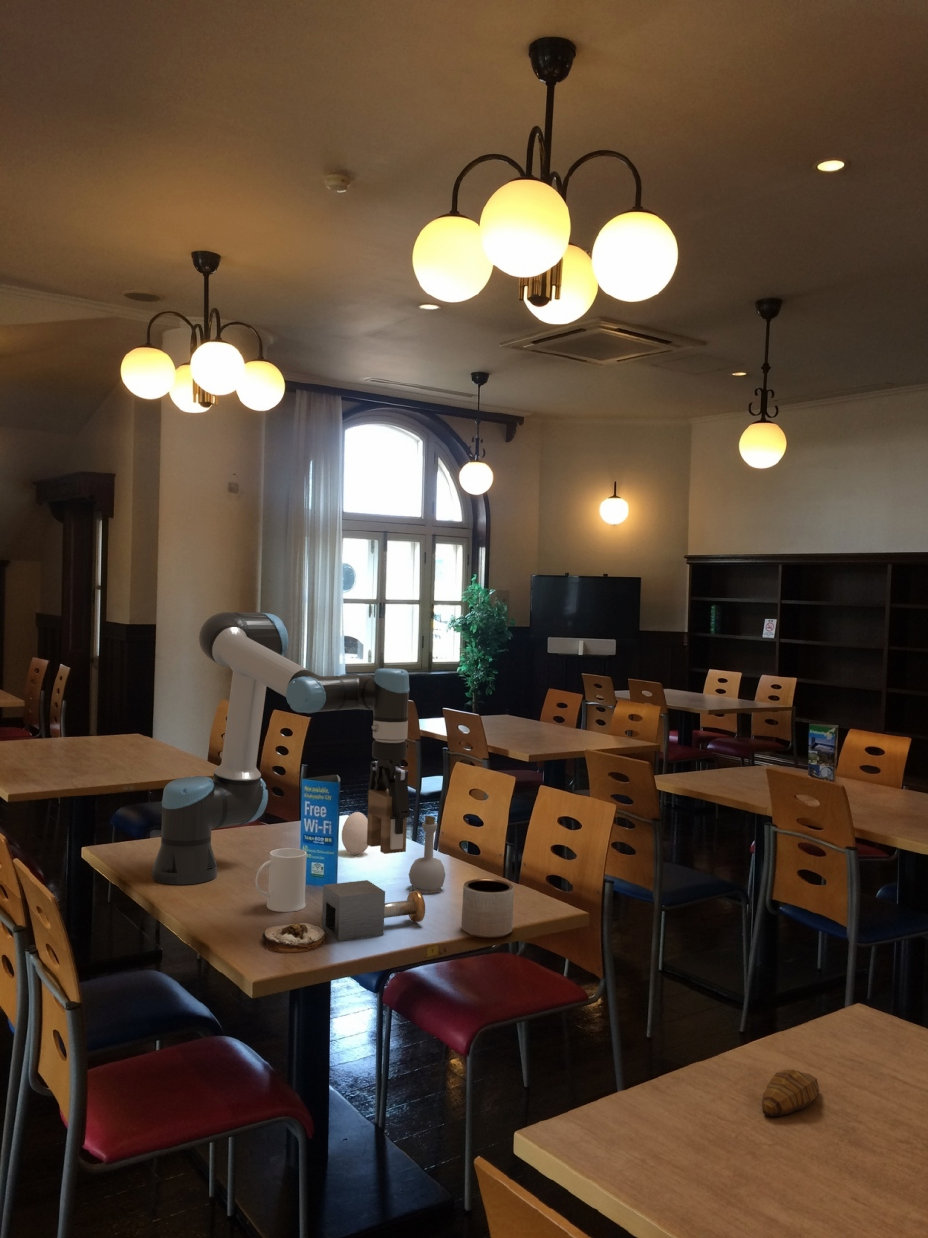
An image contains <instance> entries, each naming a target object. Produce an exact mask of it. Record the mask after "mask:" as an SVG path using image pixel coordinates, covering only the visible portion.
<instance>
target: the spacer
mask: <svg viewBox="0 0 928 1238" xmlns="http://www.w3.org/2000/svg"><path fill="white" fill-rule="evenodd" d="M391 816H393V813H392V797H391V796H389V790H388V789H387V790H380V791H376V790H369V795H368V804H367V819H368V825H367V845H369V846H368V847H380V853H382V854H384V855H386V854H387V855H388V854H397V853H406V852H407V831H408V830H407V829H408V828H407V824H408V817H406V818H404V827H403V848H402V849H392V850H391V849H390V829H391V819H390V817H391Z"/></svg>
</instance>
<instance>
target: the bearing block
mask: <svg viewBox="0 0 928 1238" xmlns="http://www.w3.org/2000/svg"><path fill="white" fill-rule="evenodd" d="M385 903H386V891H385V890H383V889H382V888H380V887H378V886H377V885H376V884H374V883H373V882H372V881H370V880H367V879H364V880H357V881H345V882H338V883H329V884H323V885H322V907H321V909H322V911H321V914H322V915H321V929H323V930H324V931H325V933H327V934H328V935H330V936H331V937H332V938H333V939H334V940H336V942H338V943H339V942H346V941H351V940H359V939H365V938H366V939H367V938H372V937H373V938H374V937H379V936H381V937H382V936H384V933H385V932H384V931H385V930H384V927H385V918H384V910H385Z"/></svg>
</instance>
